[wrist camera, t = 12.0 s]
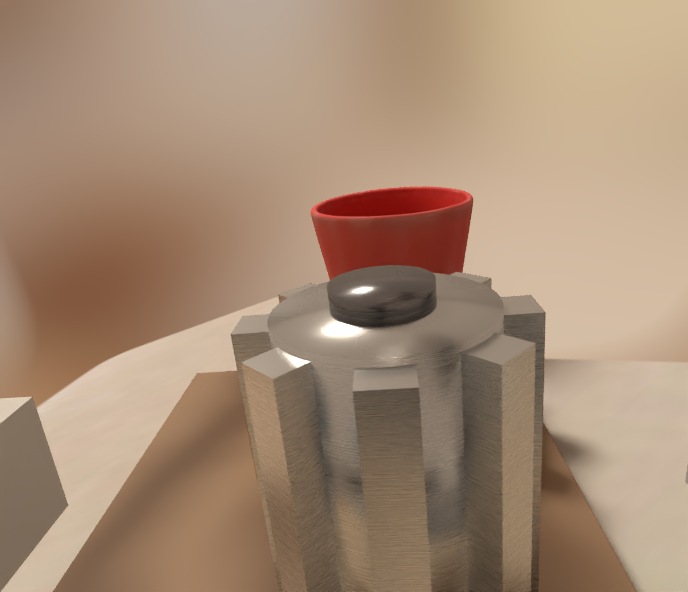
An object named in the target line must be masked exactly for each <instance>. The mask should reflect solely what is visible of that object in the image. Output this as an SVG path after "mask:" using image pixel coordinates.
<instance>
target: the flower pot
mask: <svg viewBox="0 0 688 592" xmlns="http://www.w3.org/2000/svg"><path fill="white" fill-rule="evenodd" d="M472 206H473V197H472V196H471V195H470V194H469V193H467V192H465V191H462V190H457V189H451V188H441V187H400V188H388V189H378V190H370V191H365V192H358V193H353V194H348V195H343V196H339V197H335V198H332V199H329V200H326V201H323V202H321V203H319V204H317V205H315V206H314V207H313V208H312V210H311V216H312V220H313V224H314V228H315V231H316V235H317V238H318V242H319V245H320V248H321V251H322V255H323V258H324V261H325V265H326V268H327V271H328V275H329V278H330V280H332V279H333V278H334V277H336V276H338V275H340V274H343V273H346V272H349V271H352V270H356V269H361V268H367V267H374V266H386V265H403V266H413V267H419V268H423V269H426V270H428V271H430V272H432V273H439V274H447V275H450V274H452V273H455V272H460V273H462V271H463V264H464V258H465V251H466V246H467V239H468V233H469V227H470V220H471V213H472Z"/></svg>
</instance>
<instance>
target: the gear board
mask: <svg viewBox="0 0 688 592" xmlns="http://www.w3.org/2000/svg"><path fill="white" fill-rule="evenodd" d="M53 592H279V591H278V586H277V580H276V575H275V570H274V564H273V559H272V554H271V548H270V543H269V537H268V532H267V527H266V521H265V516H264V511H263V505H262V500H261V494H260V489H259V484H258V480H257V479H256V473H255V468H254V463H253V457H252V452H251V446H250V441H249V436H248V429H247V423H246V418H245V412H244V407H243V401H242V392H241V387H240V382H239V376H238V371H226V372H211V373H197V374H196V376H195V377H194V379H193V380H192V382H191V383H190V385H189V386H188V388H187V389H186V391H185V392H184V394H183V395H182V397H181V398H180V400H179V401H178V403H177V404H176V406H175V407H174V409H173V411H172V412H171V414H170V415H169V417H168V418H167V420H166V421H165V423H164V424H163V426H162V427H161V429H160V430H159V432H158V433H157V435H156V436H155V438H154V439H153V441H152V442H151V444H150V445H149V447H148V448H147V450H146V451H145V453H144V454H143V456H142V457H141V459H140V461H139V462H138V464H137V465H136V467H135V468H134V470H133V471H132V473H131V474H130V476H129V477H128V479H127V480H126V482H125V483H124V485H123V486H122V488H121V489H120V491H119V492H118V494H117V495H116V497H115V498H114V500H113V501H112V503H111V504H110V506H109V508H108V509H107V511H106V512H105V514H104V515H103V517H102V518H101V520H100V521H99V523H98V524H97V526H96V527H95V529H94V530H93V532H92V533H91V535H90V536H89V538H88V539H87V541H86V542H85V544H84V545H83V547H82V548H81V550H80V551H79V553H78V554H77V556H76V558H75V559H74V561H73V562H72V564H71V565H70V567H69V568H68V570H67V571H66V573H65V574H64V576H63V577H62V579H61V580H60V582H59V583H58V585H57V586H56V588H55V589H54V591H53ZM538 592H636V590H635V588H634V586H633V584H632V582H631V581H630V579H629V577H628V575H627V573H626V572H625V570H624V568H623V566H622V564H621V563H620V561H619V559H618V557H617V555H616V554H615V552H614V550H613V548H612V546H611V544H610V543H609V541H608V539H607V537H606V535H605V534H604V532H603V530H602V528H601V526H600V525H599V523H598V521H597V519H596V517H595V516H594V514H593V512H592V510H591V508H590V506H589V505H588V503H587V501H586V499H585V497H584V496H583V494H582V492H581V490H580V488H579V487H578V485H577V483H576V481H575V479H574V478H573V476H572V474H571V472H570V470H569V468H568V467H567V465H566V463H565V461H564V459H563V458H562V456H561V454H560V452H559V450H558V449H557V447H556V445H555V443H554V441H553V440H552V438H551V436H550V434H549V432H548V430H547V429H546V427H545V425H544V423H543V428H542V468H541V507H540V547H539V587H538Z"/></svg>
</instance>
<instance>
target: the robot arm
mask: <svg viewBox="0 0 688 592" xmlns="http://www.w3.org/2000/svg"><path fill="white" fill-rule="evenodd" d="M685 482H686V483H687V484H688V466H687V473H686V480H685ZM67 506H68V503H67V500H66V497H65V494H64V491H63V488H62V485H61V482H60V479H59V476H58V473H57V470H56V467H55V464H54V461H53V458H52V455H51V452H50V449H49V446H48V442H47V439H46V436H45V433H44V430H43V427H42V424H41V421H40V418H39V415H38V412H37V409H36V406H35V403H34V400H33V397H19V398H2V399H0V592H1V590H2V589H3V588H4V586H5V585H6V584H7V583H8V581H9V580H10V579H11V578H12V576H13V575H14V574H15V572H16V571H17V570H18V569H19V567H20V566H21V565H22V563H23V562H24V561H25V560H26V558H27V557H28V556H29V555H30V553H31V552H32V551H33V549H34V548H35V547H36V546H37V544H38V543H39V542H40V540H41V539H42V538H43V537H44V535H45V534H46V533H47V532H48V530H49V529H50V528H51V526H52V525H53V524H54V523H55V521H56V520H57V519H58V517H59V516H60V515H61V514H62V512H63V511H64V510H65V508H66V507H67Z"/></svg>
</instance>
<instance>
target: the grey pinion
mask: <svg viewBox="0 0 688 592" xmlns="http://www.w3.org/2000/svg"><path fill="white" fill-rule="evenodd" d="M278 296H279V304H278V305H277V306H276V307H275V308H274V309H273V310H272V312H271V313H270V314H267V315H253V316H243V317H242V318H241V320H240V321H239V323H238V324H237V326H236V327H235V329H234V330H233V332H232V333H231V339H232V344H233V349H234V355H235V360H236V366H237V371H238V376H239V382H240V387H241V392H242V398H243V403H244V409H245V414H246V419H247V425H248V430H249V435H250V441H251V446H252V452H253V457H254V462H255V468H256V473H257V478H258V484H259V489H260V494H261V500H262V505H263V511H264V516H265V521H266V527H267V532H268V537H269V543H270V548H271V554H272V559H273V564H274V570H275V575H276V580H277V586H278V591H279V592H538V587H539V547H540V507H541V468H542V428H543V388H544V347H545V311H544V310H543V309H542V308H541V306H540V305H539V304H538V303H537V302H536V300H535V299H534V298H533V297H532V296H531V295H526V296H512V297H500V296H499V295H498V294H497V293H496V292H495V291H494V290H492V289H491V278H488V277H482V276H477V275H471V274H466V273H460V272H455V273H452V274H450V275H447V274H439V273H432V272H430V271H428V270H426V269H423V268H419V267H413V266H403V265H386V266H374V267H367V268H361V269H356V270H352V271H349V272H346V273H343V274H340V275H338V276H336V277H334V278H333V279H332V280H330V281H329V282H326V283H322V284H319V285H315V284H311V283H310V284H307V285H304V286H301V287H299V288H296V289H293V290H290V291H287V292H284V293H281V294H279V295H278Z"/></svg>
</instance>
